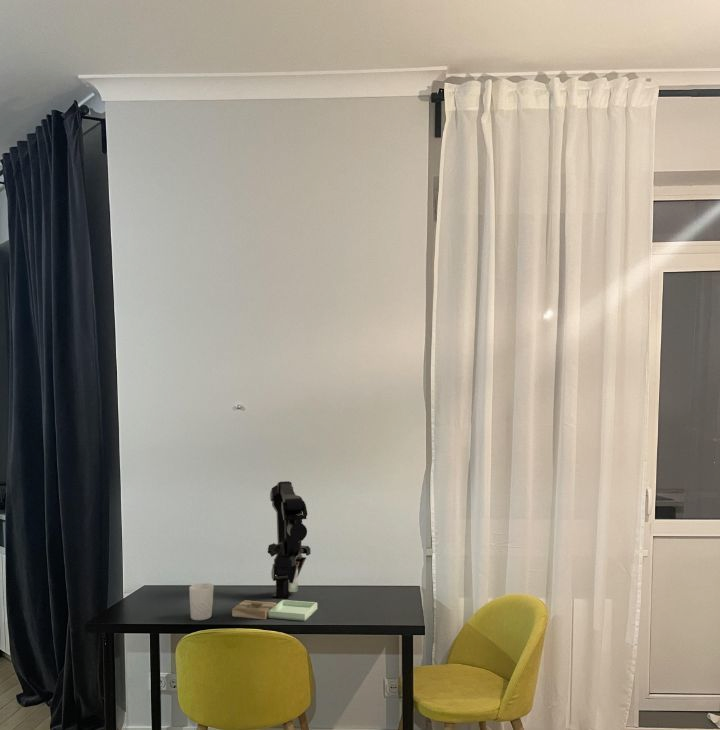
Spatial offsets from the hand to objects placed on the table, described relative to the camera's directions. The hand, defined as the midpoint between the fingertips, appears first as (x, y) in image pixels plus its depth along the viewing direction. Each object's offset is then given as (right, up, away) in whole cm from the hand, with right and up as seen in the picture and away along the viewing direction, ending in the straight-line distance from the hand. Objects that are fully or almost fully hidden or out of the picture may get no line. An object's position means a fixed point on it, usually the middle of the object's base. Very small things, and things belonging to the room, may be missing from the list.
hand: (293, 581), depth 200 cm
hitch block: (-13, -11, 0) cm, 17 cm away
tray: (0, -11, -1) cm, 11 cm away
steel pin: (0, -3, 0) cm, 3 cm away
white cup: (-31, -11, -3) cm, 33 cm away
